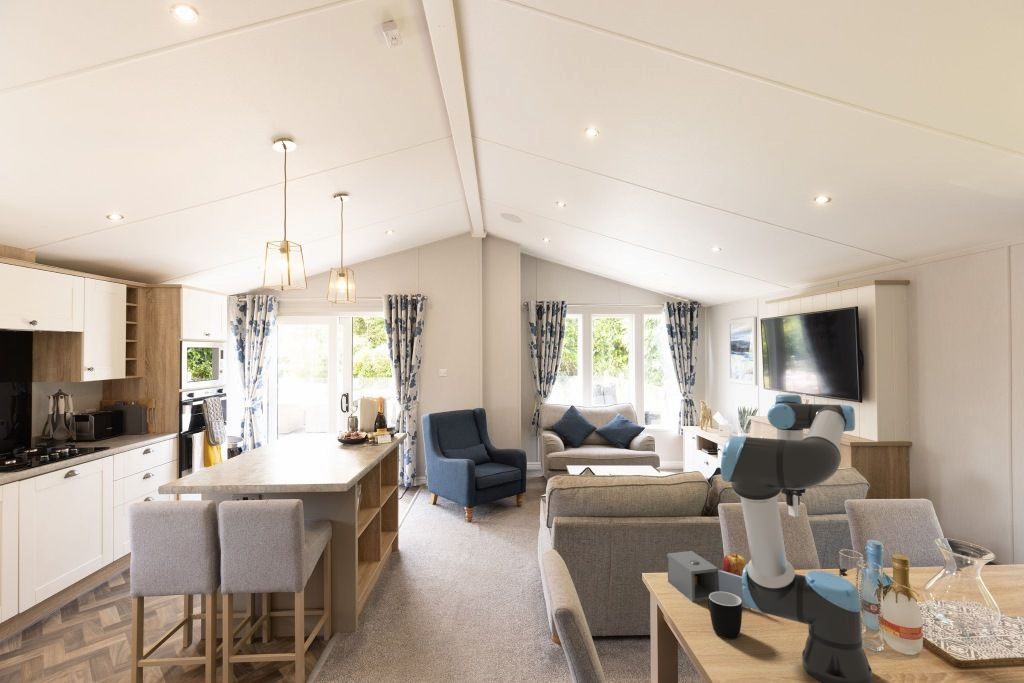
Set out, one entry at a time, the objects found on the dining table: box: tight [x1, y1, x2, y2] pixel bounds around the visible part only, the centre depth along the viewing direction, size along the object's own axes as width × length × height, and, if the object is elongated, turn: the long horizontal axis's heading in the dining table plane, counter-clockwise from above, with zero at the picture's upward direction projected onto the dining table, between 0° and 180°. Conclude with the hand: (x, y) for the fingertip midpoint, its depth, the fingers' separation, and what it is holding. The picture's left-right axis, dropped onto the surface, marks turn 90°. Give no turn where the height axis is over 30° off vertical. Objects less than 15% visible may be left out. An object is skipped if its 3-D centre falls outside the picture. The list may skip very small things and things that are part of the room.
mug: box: [707, 592, 743, 640], centre depth 148 cm, size 12×9×10 cm
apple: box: [721, 553, 749, 577], centre depth 180 cm, size 9×9×10 cm
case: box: [666, 550, 719, 603], centre depth 175 cm, size 16×10×10 cm, turn 12°
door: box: [718, 569, 752, 609], centre depth 164 cm, size 2×10×9 cm, turn 42°
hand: (793, 515), depth 161 cm, fingers closed
